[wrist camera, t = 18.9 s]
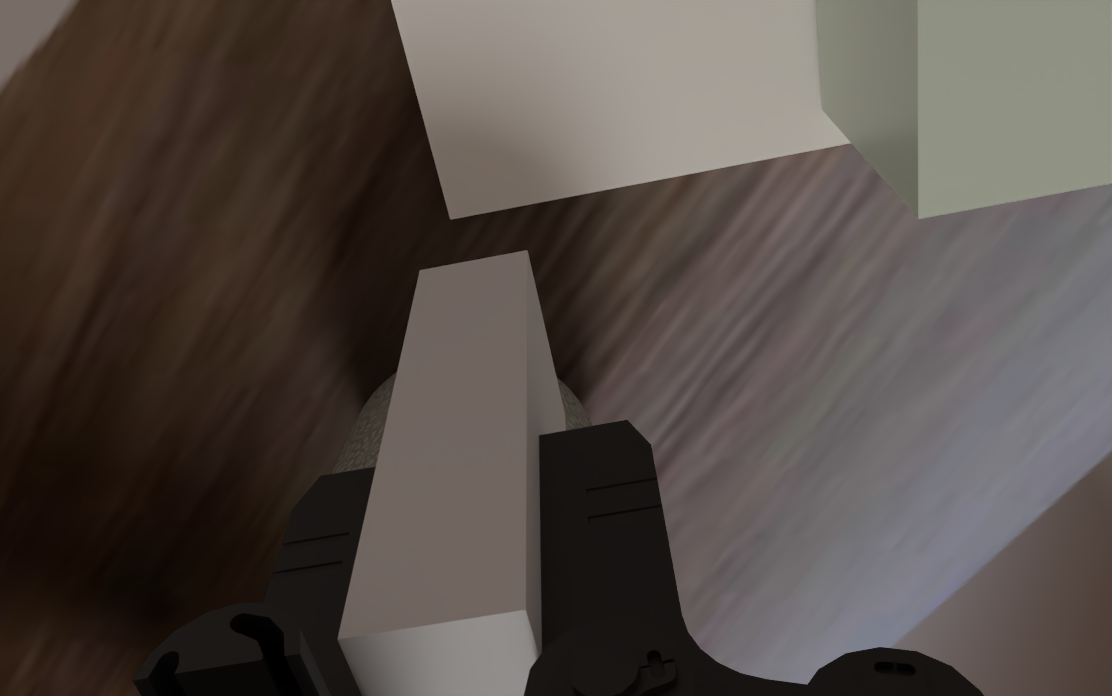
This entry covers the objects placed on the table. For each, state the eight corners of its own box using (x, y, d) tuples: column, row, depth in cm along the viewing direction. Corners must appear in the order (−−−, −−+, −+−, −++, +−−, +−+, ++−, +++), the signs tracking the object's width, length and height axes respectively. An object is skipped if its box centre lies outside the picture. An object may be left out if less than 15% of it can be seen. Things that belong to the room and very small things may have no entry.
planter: (591, 530, 50) (605, 703, 41) (348, 516, 49) (306, 690, 40) (622, 321, 44) (648, 468, 34) (345, 300, 43) (295, 446, 34)
